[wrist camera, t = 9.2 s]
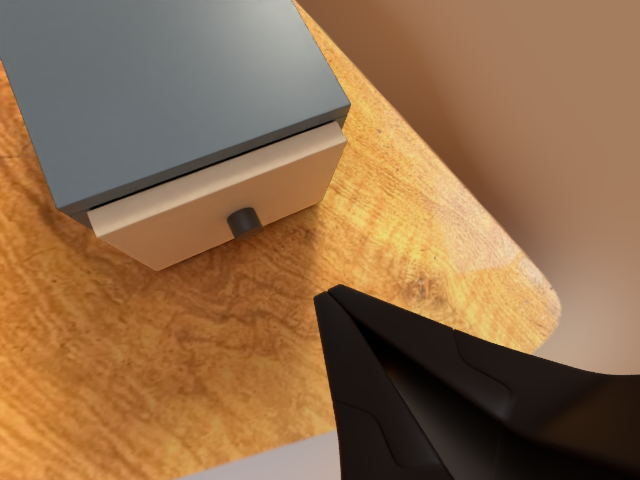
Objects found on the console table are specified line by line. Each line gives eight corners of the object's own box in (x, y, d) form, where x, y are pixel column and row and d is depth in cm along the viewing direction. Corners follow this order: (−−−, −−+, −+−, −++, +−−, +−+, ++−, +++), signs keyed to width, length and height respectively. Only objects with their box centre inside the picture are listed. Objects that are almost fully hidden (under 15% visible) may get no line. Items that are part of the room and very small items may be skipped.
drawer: (330, 216, 23) (360, 162, 16) (163, 290, 21) (106, 265, 13) (241, 46, 26) (231, -69, 18) (81, 91, 23) (-6, -23, 16)
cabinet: (320, 188, 25) (352, 103, 16) (144, 261, 22) (56, 209, 13) (237, 31, 27) (223, -122, 18) (68, 76, 24) (-52, -80, 15)
